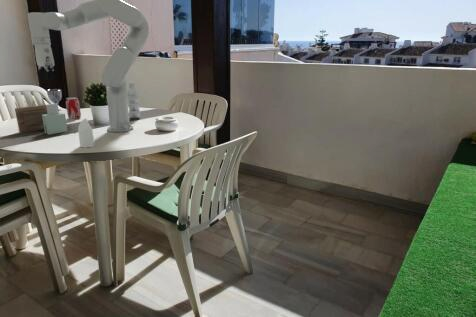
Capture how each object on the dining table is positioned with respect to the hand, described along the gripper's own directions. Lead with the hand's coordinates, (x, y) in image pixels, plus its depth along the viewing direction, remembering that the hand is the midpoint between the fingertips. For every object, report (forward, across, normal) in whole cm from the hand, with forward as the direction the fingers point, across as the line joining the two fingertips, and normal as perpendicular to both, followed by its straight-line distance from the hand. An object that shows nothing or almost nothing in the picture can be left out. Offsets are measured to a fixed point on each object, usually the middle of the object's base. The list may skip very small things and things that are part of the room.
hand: (47, 79), depth 168 cm
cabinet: (+26, 0, 0) cm, 26 cm away
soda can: (+26, +27, -20) cm, 42 cm away
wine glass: (+26, +48, -18) cm, 57 cm away
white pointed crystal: (+26, -36, 0) cm, 45 cm away
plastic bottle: (+26, +2, -45) cm, 52 cm away
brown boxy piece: (+26, +13, +5) cm, 29 cm away
